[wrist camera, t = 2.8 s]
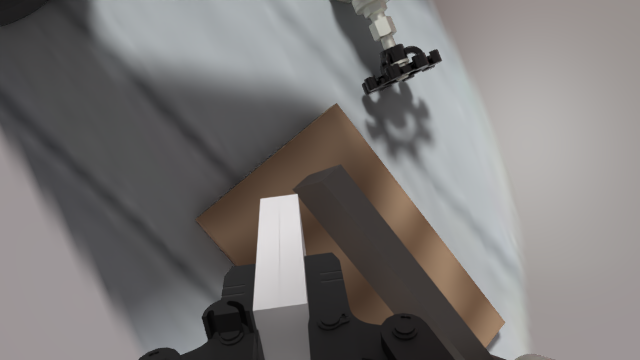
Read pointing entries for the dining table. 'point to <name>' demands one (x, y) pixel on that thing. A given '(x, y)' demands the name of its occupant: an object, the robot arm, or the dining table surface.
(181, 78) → the dining table surface
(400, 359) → the robot arm
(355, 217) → the dark piece
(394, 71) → the valve
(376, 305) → the board
